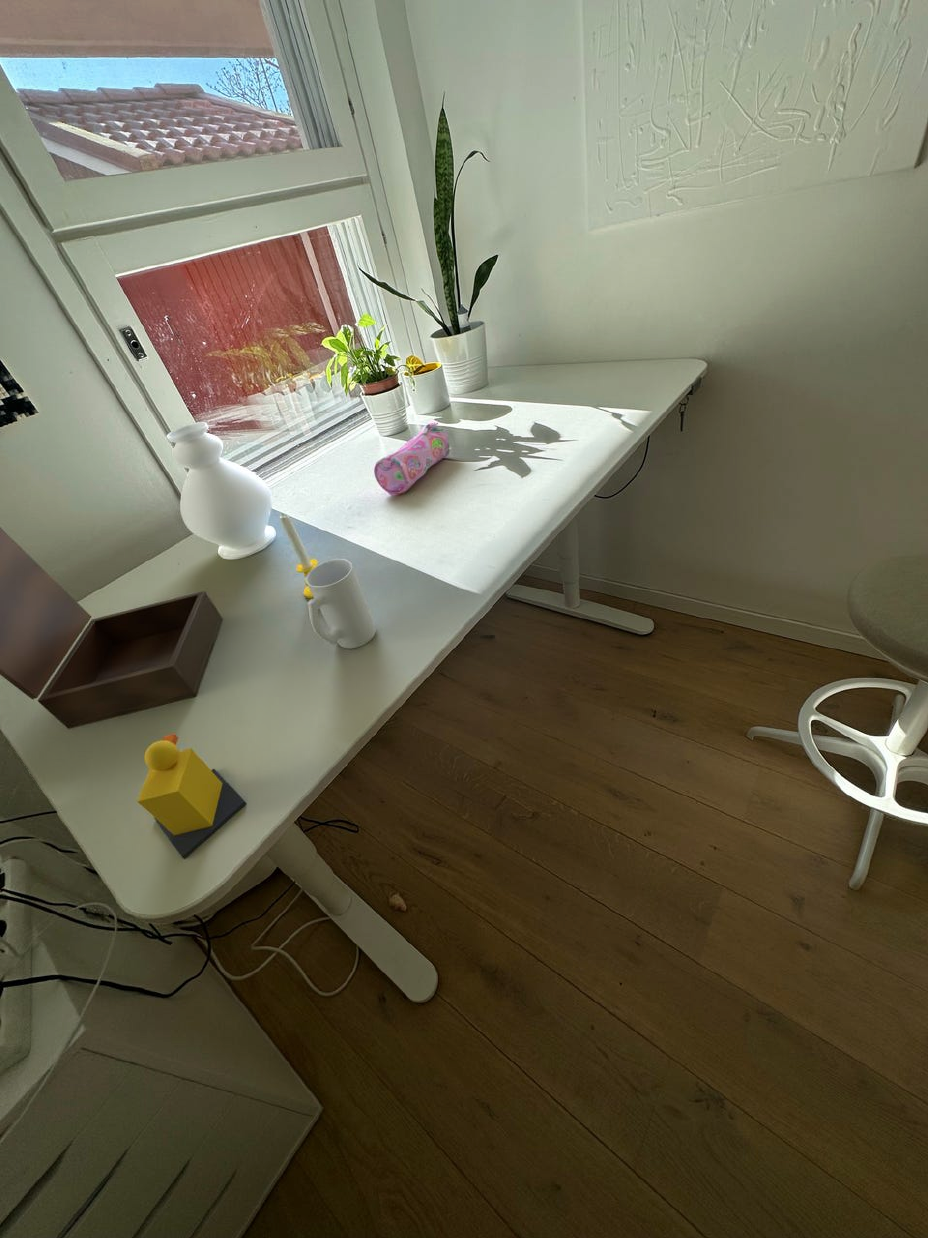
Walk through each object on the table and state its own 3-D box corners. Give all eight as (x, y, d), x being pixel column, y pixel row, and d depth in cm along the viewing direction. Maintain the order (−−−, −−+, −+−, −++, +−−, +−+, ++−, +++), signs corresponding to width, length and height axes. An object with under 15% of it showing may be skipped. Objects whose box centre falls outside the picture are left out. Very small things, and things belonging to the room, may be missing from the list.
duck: (174, 835, 58) (119, 785, 52) (190, 782, 64) (142, 731, 57) (212, 826, 58) (161, 775, 52) (225, 773, 64) (180, 721, 57)
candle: (321, 578, 95) (286, 502, 86) (338, 585, 92) (304, 507, 83) (298, 594, 93) (260, 518, 83) (315, 602, 90) (277, 524, 80)
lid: (-16, 511, 74) (-20, 513, 74) (-108, 584, 60) (-114, 587, 60) (91, 616, 87) (87, 618, 87) (37, 698, 73) (32, 699, 73)
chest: (223, 618, 92) (204, 590, 88) (196, 696, 77) (172, 666, 73) (114, 646, 92) (91, 619, 88) (67, 729, 77) (37, 701, 73)
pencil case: (426, 455, 131) (417, 419, 125) (457, 455, 126) (449, 419, 120) (377, 496, 117) (365, 458, 112) (410, 499, 113) (398, 460, 107)
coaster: (184, 859, 56) (181, 857, 56) (156, 819, 61) (153, 817, 61) (246, 803, 60) (244, 801, 60) (215, 770, 65) (213, 768, 65)
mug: (351, 618, 84) (324, 556, 76) (385, 623, 81) (361, 560, 74) (314, 661, 78) (281, 599, 70) (350, 669, 75) (319, 605, 67)
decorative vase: (282, 513, 121) (231, 404, 105) (293, 545, 108) (236, 426, 92) (206, 540, 118) (142, 433, 102) (207, 577, 104) (133, 459, 89)
